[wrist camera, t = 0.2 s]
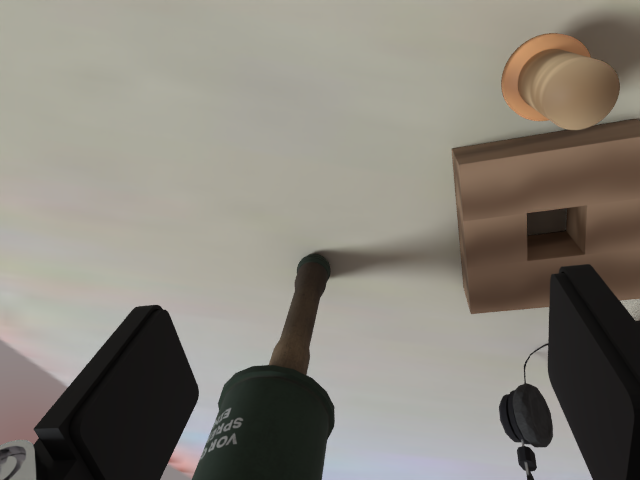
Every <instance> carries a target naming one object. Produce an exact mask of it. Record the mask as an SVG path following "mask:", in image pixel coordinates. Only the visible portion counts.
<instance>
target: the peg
mask: <svg viewBox="0 0 640 480" xmlns="http://www.w3.org/2000/svg"><path fill="white" fill-rule="evenodd" d="M501 87H502V93H503V96H504V99H505V101H506V103H507V104H508V105H509V107H510V108H511V109H512V110H513V111H515V112H516V113H517V114H518V115H520V116H521V117H524V118H526V119H529V120H534V121H547V120H550V121H552V122H553V123H554V124H556V125H557V126H559V127H561V128H564V129H568V130H581V129H585V128H588V127H591V126H593V125H595V124H597V123H598V122H600V121H601V120H602V119H604V118H605V117H606V116H607V115H608V114H609V113H610V111H611V110H612V109H613V107H614V105H615V103H616V101H617V99H618V95H619V90H620V84H619V79H618V76H617V74H616V72H615V70H614V69H613V68H612V67H611V66H610V65H609V64H607V63H605V62H603V61H600V60H597V59H593V58H591V56H590V54H589V52H588V50H587V48H586V47H585V46H584V45H583V44H582V43H581V42H580V41H578V40H577V39H575V38H573V37H571V36H567V35H563V34H556V33H549V34H543V35H539V36H536V37H534V38H532V39H530V40H528V41H526V42H525V43H523V44H522V45H521V46H520V47H518V48H517V49H516V50H515V52H514V53H513V54H512V55H511V57H510V58H509V60H508V61H507V63H506V65H505V68H504V71H503V74H502V80H501Z"/></svg>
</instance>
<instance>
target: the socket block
mask: <svg viewBox="0 0 640 480" xmlns="http://www.w3.org/2000/svg"><path fill="white" fill-rule="evenodd" d="M452 159H453V170H454V182H455V193H456V205H457V217H458V228H459V240H460V252H461V263H462V275H463V287H464V291H465V294H466V298H467V302H468V305H469V309H470V312H471V314H476V313H487V312H498V311H509V310H520V309H530V308H541V307H549V306H550V277H551V275H552V274H558V273H559V269H560V268H561V267H563V266H573V265H584V264H590V265H591V266H592V267H593V268H594V269H595V271H596V272H597V273H598V274H599V276H600V277H601V278H602V279H603V281H604V282H605V283H606V284H607V286H608V287H609V288H610V290H611V291H612V292H613V293H614V295H615V296H616V297H617V298H618V300H629V299H640V121H638V120H636V119H631V120H625V121H619V122H613V123H607V124H600V125H594V126H591V127H588V128H585V129H581V130H564V131H557V132H551V133H545V134H539V135H533V136H527V137H521V138H514V139H508V140H502V141H496V142H490V143H484V144H478V145H471V146H465V147H459V148H453V149H452ZM563 208H567V221H566V231H562V232H554V233H546V234H537V235H529V236H527V213H532V212H540V211H547V210H555V209H563Z"/></svg>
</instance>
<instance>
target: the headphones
mask: <svg viewBox="0 0 640 480" xmlns="http://www.w3.org/2000/svg"><path fill="white" fill-rule="evenodd" d="M546 345H548V344H546ZM546 345H544V346H546ZM544 346H542V347H544ZM542 347H540V348H539V349H541V348H542ZM539 349H537V350H539ZM537 350H535V351H534V352H536V351H537ZM534 352H533V353H534ZM533 353H531V354H530V356H531V355H532V354H533ZM530 356H529V357H528V359H529V358H530ZM528 359H527V360H526V362H525V365H524V379H525V367H526V363H527V361H528ZM499 412H500V421H501V423H502V425H503V428H504V430H505V433H506V434H507V435H508V436H509V437H510V438H511V439H512V440H513V441H514V442H522V447H519V448H518V449H517V454H518V462H519V465H520V466H521V467H522V468H523V470H525V471H526V474H527V480H534V478H533V476H532V474H531V472H530V471H535V470H536V468H537V466H536V460H535V454H534V452H533V451H532V450H531V449H530V448H529V447H526V446H524V444H531V445H533V446H534V447H547V446H548V445H549V444H550V442H551V440H552V437H553V426H552V419H551V413H550V410H549V408H548V406H547V403H546V401H545V399H544V397H543V396H542V394H541V393H540V391H539V390H538V388H536V387H534V386H532V385H530V384H527V383H526V381H525V384H523V385H520V386H518V388H517V389H516V390H514V391H512V392H510V394H508V395H505V396H503V398H502V400H501V403H500V406H499Z"/></svg>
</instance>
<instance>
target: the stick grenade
mask: <svg viewBox="0 0 640 480" xmlns="http://www.w3.org/2000/svg"><path fill="white" fill-rule="evenodd" d="M329 276H330V266H329V263H328V262H327V260H326V259H325V258H324V257H322V256H320V255H317V254H311V255H308V256H306V257H304V258H303V259H302V260H301V261H300V262H299V264H298V267H297V276H296V280H295V293H294V296H293V299H292V302H291V306H290V309H289V312H288V315H287V319H286V322H285V325H284V328H283V331H282V335H281V338H280V340H279V342H278V343H277V345H276V346H275V348H274V351H273V354H272V357H271V360H270V363H269V365H265V366H252V367H250V368H247V369H245V370H242V371H240V372H238V373H235V374H234V375H233V377H232V378H231V379H230V380H229V381H228V382H227V383H226V384H224V387H223V390H222V393H221V396H220V399H219V402H218V406H219V413H218V415H217V418H216V420H215V423H214V425H213V428H212V430H211V433H210V435H209V438H208V440H207V443H206V445H205V448H204V450H203V453H202V455H201V458H200V460H199V463H198V465H197V468H196V470H195V473H194V475H193V478H192V480H322V473H323V466H324V458H325V451H326V444H327V439H328V437H329V435H330V434H331V432H332V430H333V428H334V422H335V420H334V405H333V403H332V401H331V399H330V397H329V395H328V393H327V392H326V391H325V390H324V389H323V388H322V387H321V386H320V385H319V384H318V383H317V382H316V381H315V380H314V379H313V378H311V377H309V376H307V375H306V374H307V369H308V364H309V360H310V352H309V346H310V341H311V337H312V332H313V328H314V323H315V319H316V314H317V309H318V305H319V300H320V297H321V296H322V294H323V292H324V290H325V287H326V283H327V280H328V279H329Z"/></svg>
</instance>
